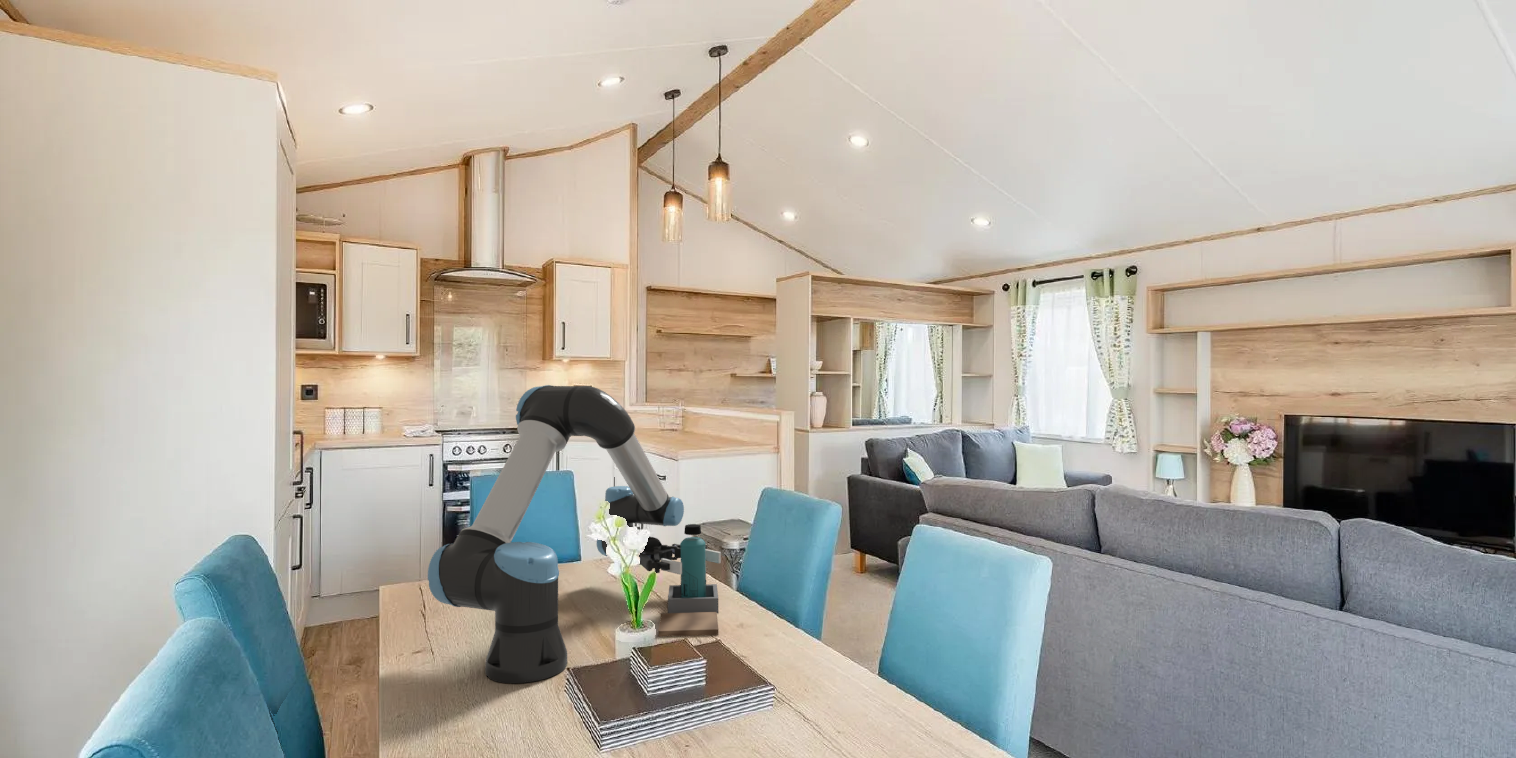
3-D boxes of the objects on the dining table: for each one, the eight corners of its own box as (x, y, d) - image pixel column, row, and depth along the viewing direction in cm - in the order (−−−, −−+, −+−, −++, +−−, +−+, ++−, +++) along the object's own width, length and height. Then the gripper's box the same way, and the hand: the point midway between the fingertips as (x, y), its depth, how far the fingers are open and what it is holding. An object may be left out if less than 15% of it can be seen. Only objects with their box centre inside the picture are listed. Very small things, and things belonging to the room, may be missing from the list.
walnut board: (658, 636, 158) (658, 631, 158) (660, 618, 170) (660, 613, 170) (718, 634, 160) (718, 629, 160) (716, 616, 171) (716, 611, 171)
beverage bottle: (711, 604, 181) (711, 523, 181) (695, 611, 175) (695, 528, 175) (690, 600, 184) (690, 521, 184) (674, 607, 179) (674, 525, 179)
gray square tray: (667, 614, 173) (667, 599, 173) (669, 599, 185) (669, 585, 185) (718, 612, 174) (718, 598, 174) (716, 597, 186) (716, 584, 186)
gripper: (677, 555, 202) (734, 568, 188) (604, 574, 182) (663, 589, 169) (677, 528, 202) (734, 539, 188) (604, 544, 182) (663, 557, 169)
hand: (701, 563), depth 178 cm, fingers open, 13 cm apart
